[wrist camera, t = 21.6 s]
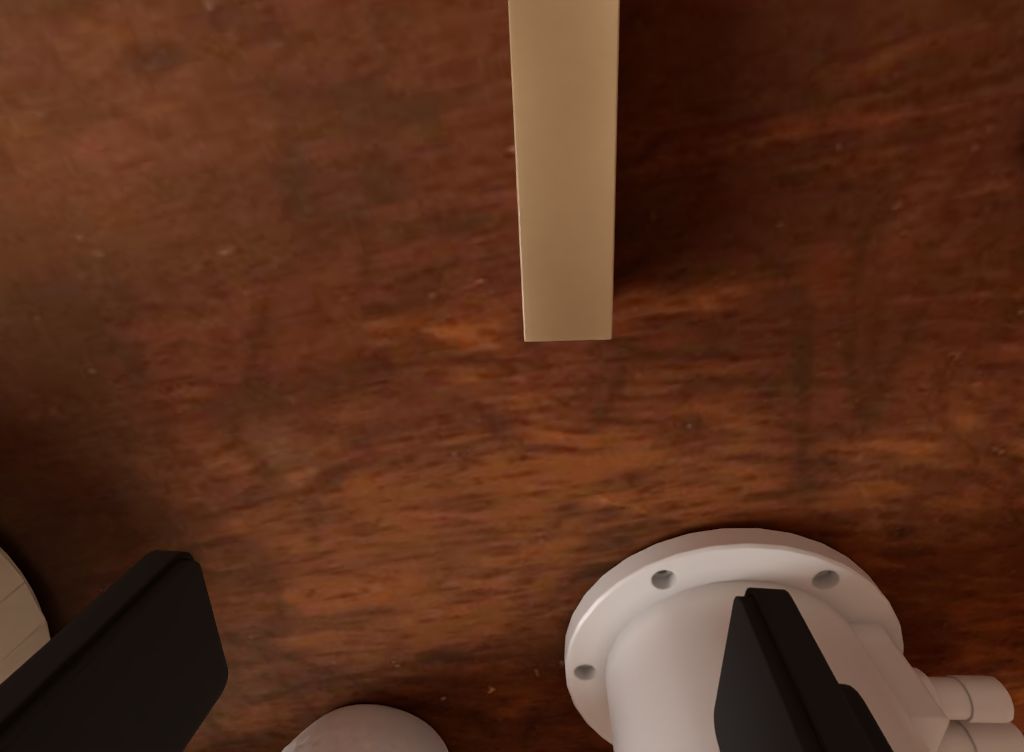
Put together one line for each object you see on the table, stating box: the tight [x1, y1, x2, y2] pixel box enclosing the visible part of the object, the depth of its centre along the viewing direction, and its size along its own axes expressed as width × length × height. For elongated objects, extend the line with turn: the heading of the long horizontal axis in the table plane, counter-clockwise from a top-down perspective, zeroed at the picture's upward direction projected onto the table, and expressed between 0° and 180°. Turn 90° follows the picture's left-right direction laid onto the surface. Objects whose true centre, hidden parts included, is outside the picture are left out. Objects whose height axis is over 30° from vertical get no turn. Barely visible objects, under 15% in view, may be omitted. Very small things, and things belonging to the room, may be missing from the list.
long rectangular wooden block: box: [508, 0, 620, 342], centre depth 13 cm, size 2×10×3 cm, turn 3°
